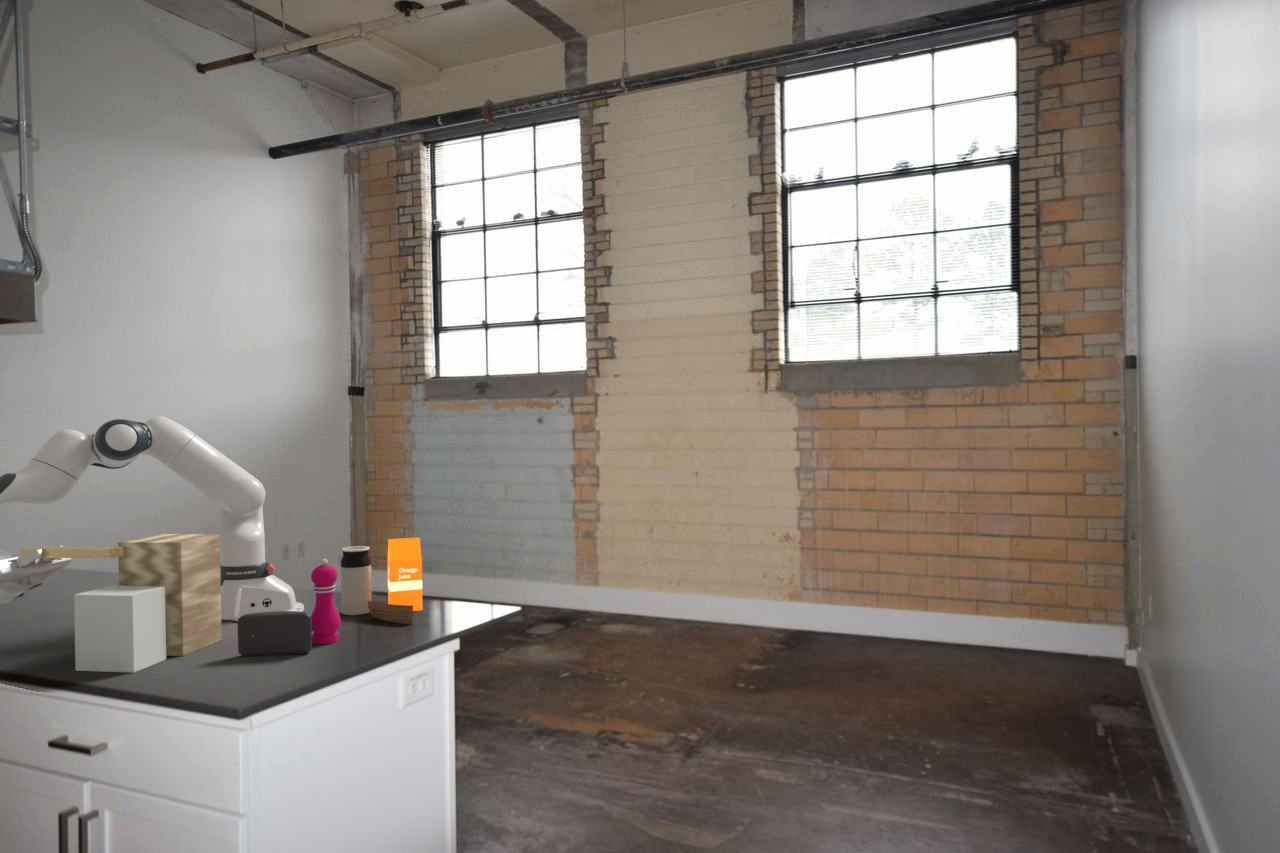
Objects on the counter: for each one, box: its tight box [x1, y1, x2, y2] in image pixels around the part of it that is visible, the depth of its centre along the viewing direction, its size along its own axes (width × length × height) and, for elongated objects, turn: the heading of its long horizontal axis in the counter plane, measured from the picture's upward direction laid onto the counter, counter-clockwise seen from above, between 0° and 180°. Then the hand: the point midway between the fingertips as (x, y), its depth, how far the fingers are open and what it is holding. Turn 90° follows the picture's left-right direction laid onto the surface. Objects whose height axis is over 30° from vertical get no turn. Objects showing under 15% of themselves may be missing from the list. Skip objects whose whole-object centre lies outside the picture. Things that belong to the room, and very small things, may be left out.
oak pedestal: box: [117, 533, 223, 657], centre depth 203 cm, size 16×14×26 cm
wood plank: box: [368, 600, 414, 626], centre depth 226 cm, size 15×2×5 cm, turn 63°
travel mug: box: [340, 545, 373, 616], centre depth 237 cm, size 8×8×18 cm
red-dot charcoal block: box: [237, 611, 313, 657], centre depth 197 cm, size 16×5×9 cm, turn 96°
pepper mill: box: [310, 558, 342, 645], centre depth 207 cm, size 7×7×20 cm
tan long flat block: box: [20, 545, 123, 560], centre depth 190 cm, size 22×4×2 cm, turn 82°
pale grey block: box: [73, 585, 167, 673], centre depth 189 cm, size 14×10×16 cm
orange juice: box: [387, 537, 423, 612], centre depth 241 cm, size 8×9×20 cm
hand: (51, 549), depth 191 cm, fingers closed on tan long flat block, 4 cm apart
